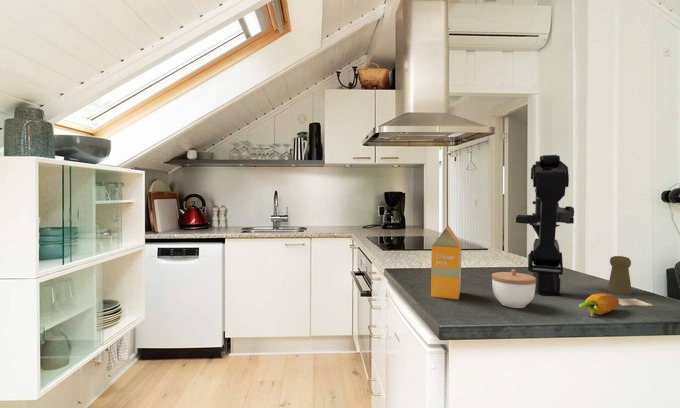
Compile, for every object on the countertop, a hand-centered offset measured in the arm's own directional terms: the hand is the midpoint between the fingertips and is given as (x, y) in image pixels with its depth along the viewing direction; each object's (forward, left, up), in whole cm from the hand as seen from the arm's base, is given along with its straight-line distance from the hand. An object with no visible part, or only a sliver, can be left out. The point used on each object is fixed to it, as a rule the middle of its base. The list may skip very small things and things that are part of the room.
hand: (544, 244), depth 123 cm
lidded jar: (-22, -25, -13) cm, 36 cm away
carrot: (+4, -27, -11) cm, 30 cm away
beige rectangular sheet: (+12, -22, -13) cm, 28 cm away
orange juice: (-37, -15, -13) cm, 42 cm away
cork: (+18, -10, -13) cm, 24 cm away
